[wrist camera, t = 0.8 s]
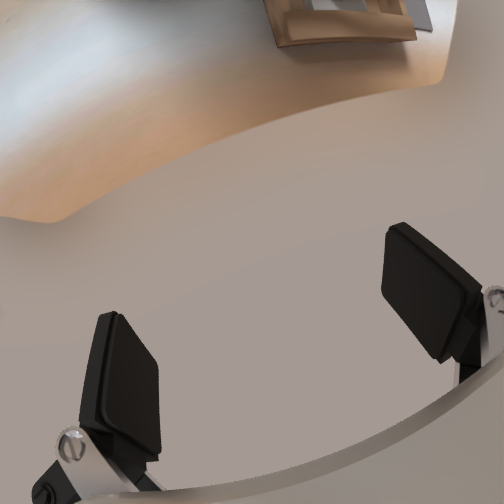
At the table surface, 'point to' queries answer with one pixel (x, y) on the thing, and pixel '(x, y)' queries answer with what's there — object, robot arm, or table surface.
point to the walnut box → (339, 21)
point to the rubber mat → (419, 14)
